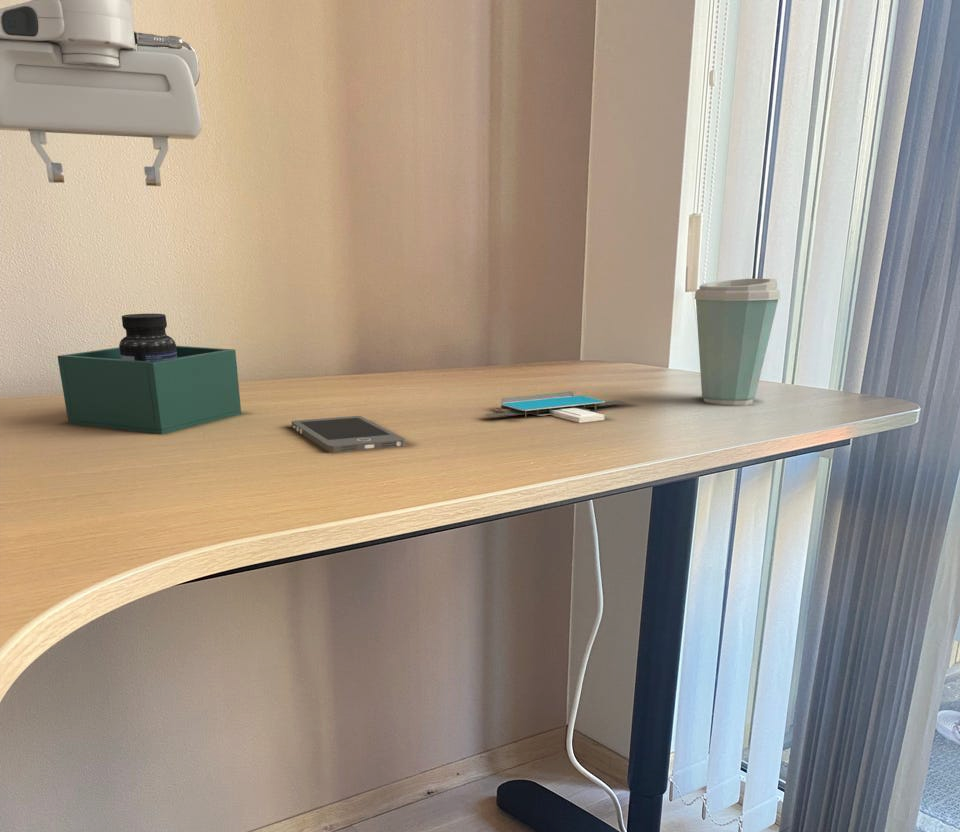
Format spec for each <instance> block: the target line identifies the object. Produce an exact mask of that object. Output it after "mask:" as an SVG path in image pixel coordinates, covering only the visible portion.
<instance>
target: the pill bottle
mask: <svg viewBox="0 0 960 832" xmlns="http://www.w3.org/2000/svg"><path fill="white" fill-rule="evenodd" d="M166 316H167V315H166V314H165V313H130V314H123V315H121V323H122V328H123V329H124V330H125V334H126V335H125V336H124V337H123V338H121V340H120V341H119V345H118V347H119V349H120V355H121V359H122V360H135V361H149V362H154V361H161V360H167V359H173V358H177V350H176V346H177V343H176V341H175V339H174V338H173V337H171V336H169V335H167V333H166V328H167V327H168V322H167V317H166Z"/></svg>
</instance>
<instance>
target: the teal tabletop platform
mask: <svg viewBox="0 0 960 832" xmlns="http://www.w3.org/2000/svg"><path fill="white" fill-rule="evenodd" d="M623 403H625V401H624V400H618V399H617V400H607V401H605V400H603V399H598V398H594V397H590V396H585V395H574V391H573V390H572V391H564V392H554V393H553V392H551V393H542V394H533V395H532V394H531V395H522V396H511V397H502V398H501V399H500V401H499V404H500V407H501V408H497V407H496V408H494V411H496V413H486V414H485V416H488V417H491V418H492V417H493V418H494V417H501V416H502V417H503V416H508V417H509V416H510V417H511V416H519V415H525V416H524V417H525V418H527V415H535V416H537V417H541V416H542V417H543V416H552V417H557V418H560V419H563V420H567V421H572V422H575V423H579V424H580V423H581V424H582V423H589V422H598V421H605V414H602V413H598V412H595V411H591V410H590V409H588V408H594V410H597V407H602V406H611V405H612V406H613V405H614V404H623ZM497 412H498V413H497Z"/></svg>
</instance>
